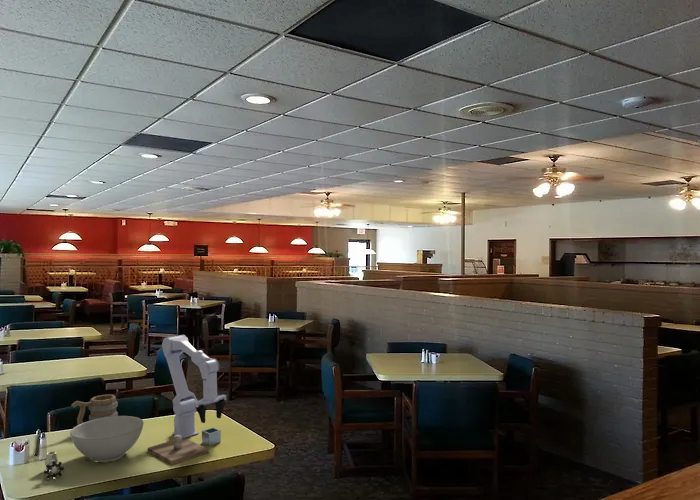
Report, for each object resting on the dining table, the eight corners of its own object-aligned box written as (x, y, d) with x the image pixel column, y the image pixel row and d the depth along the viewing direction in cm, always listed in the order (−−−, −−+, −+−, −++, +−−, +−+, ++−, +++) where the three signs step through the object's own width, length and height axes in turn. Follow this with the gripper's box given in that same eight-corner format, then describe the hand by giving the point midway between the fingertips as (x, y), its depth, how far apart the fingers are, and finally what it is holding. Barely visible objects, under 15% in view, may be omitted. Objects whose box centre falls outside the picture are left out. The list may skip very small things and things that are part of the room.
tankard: (113, 421, 257) (112, 390, 257) (122, 427, 248) (121, 395, 248) (67, 431, 244) (67, 398, 244) (76, 438, 234) (75, 404, 234)
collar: (202, 442, 228) (201, 430, 228) (213, 438, 232) (213, 427, 232) (209, 445, 224) (209, 433, 224) (220, 442, 228) (220, 430, 228)
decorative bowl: (73, 450, 221) (72, 421, 221) (142, 440, 231) (142, 412, 231) (67, 475, 196) (66, 443, 196) (145, 463, 207) (144, 432, 207)
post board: (147, 451, 218) (147, 435, 218) (183, 440, 230) (182, 425, 230) (171, 464, 205) (171, 447, 205) (208, 452, 216) (208, 436, 216)
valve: (40, 470, 201) (44, 482, 191) (40, 453, 201) (43, 463, 191) (60, 466, 205) (64, 477, 195) (60, 449, 205) (64, 459, 195)
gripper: (200, 393, 219) (200, 426, 219) (229, 386, 230) (230, 417, 230) (191, 390, 224) (192, 423, 224) (220, 383, 235) (221, 414, 235)
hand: (211, 420), depth 228 cm, fingers open, 7 cm apart
